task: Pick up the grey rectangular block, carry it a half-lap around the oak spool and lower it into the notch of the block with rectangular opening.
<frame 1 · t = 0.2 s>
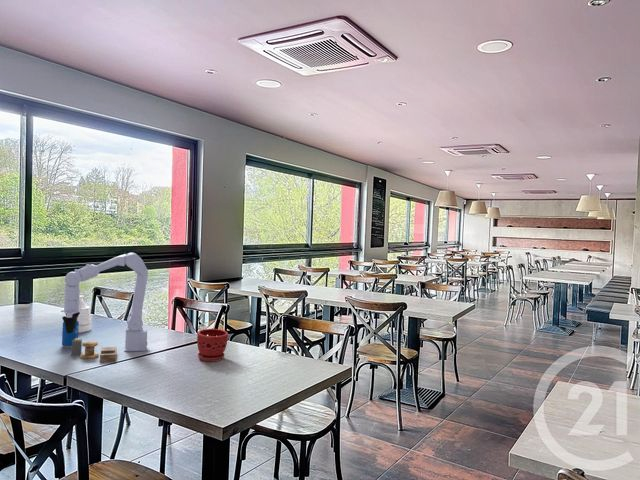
hand: (70, 330, 205), 10 cm above the table, fingers open, 7 cm apart
grey rectangular block: (76, 354, 204), on the table
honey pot: (77, 330, 247), on the table
beverage can: (69, 346, 216), on the table
plant pot: (211, 359, 209), on the table
spool: (89, 356, 202), on the table
block with rectangular opening: (108, 357, 202), on the table
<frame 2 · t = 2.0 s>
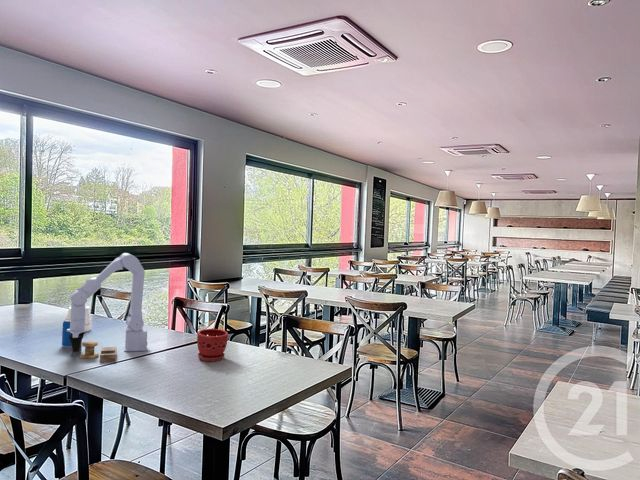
hand: (76, 350, 204), 2 cm above the table, fingers closed on grey rectangular block, 3 cm apart
grey rectangular block: (76, 354, 204), on the table, touching gripper
everything else where it was.
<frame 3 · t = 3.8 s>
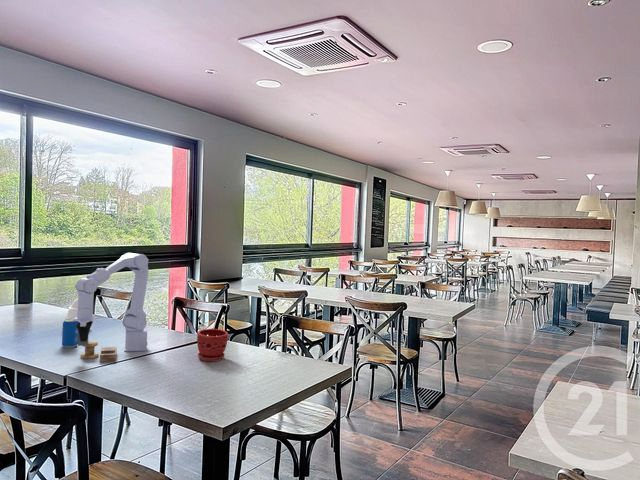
hand: (84, 340, 195), 9 cm above the table, fingers closed on grey rectangular block, 3 cm apart
grey rectangular block: (83, 344, 195), point 7 cm above the table, touching gripper
everything else where it was.
when the fingers open (4 cm above the table, at t = 5.8 s): grey rectangular block drops 2 cm, resting in block with rectangular opening.
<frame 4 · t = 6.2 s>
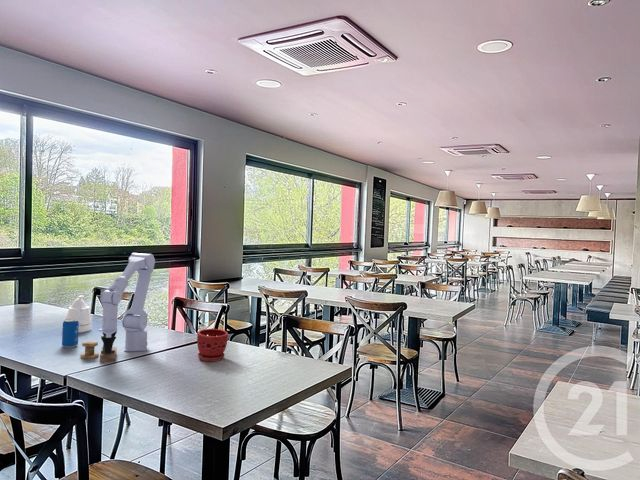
hand: (108, 350, 200), 4 cm above the table, fingers open, 7 cm apart
grey rectangular block: (106, 359, 200), resting in block with rectangular opening
everything else where it was.
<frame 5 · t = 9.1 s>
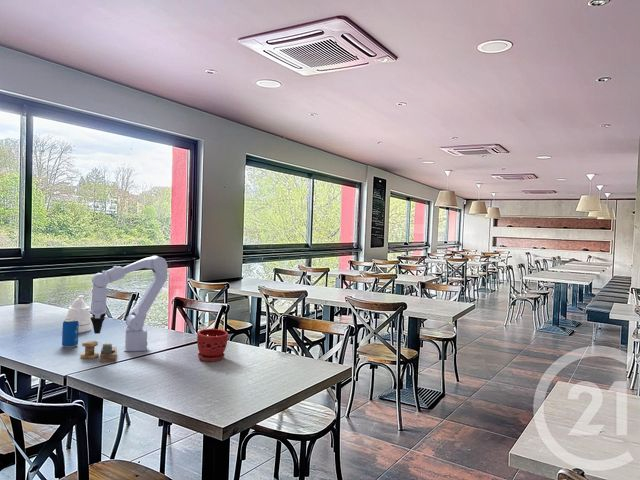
hand: (97, 331, 208), 9 cm above the table, fingers open, 7 cm apart
nothing on the table moved.
at the end: grey rectangular block 0.5 cm from the target spot on the block with rectangular opening, point 0.0 cm above the block with rectangular opening's base; grey rectangular block tilted 0°; the gripper is holding nothing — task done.
